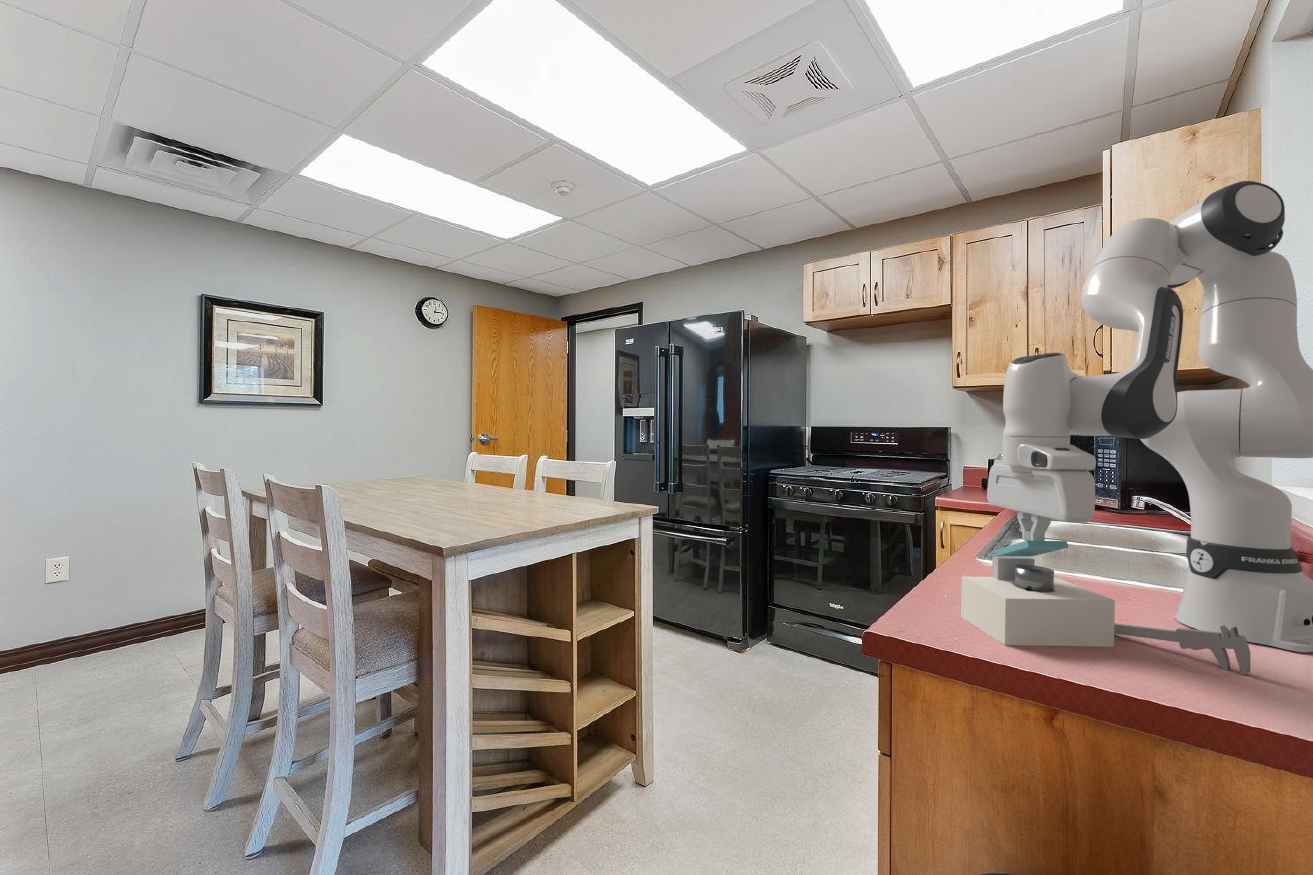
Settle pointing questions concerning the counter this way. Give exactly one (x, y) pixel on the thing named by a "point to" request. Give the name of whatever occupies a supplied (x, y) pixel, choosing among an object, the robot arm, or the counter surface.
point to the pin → (1034, 578)
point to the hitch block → (1036, 610)
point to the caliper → (1198, 642)
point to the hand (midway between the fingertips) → (1033, 542)
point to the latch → (1031, 548)
